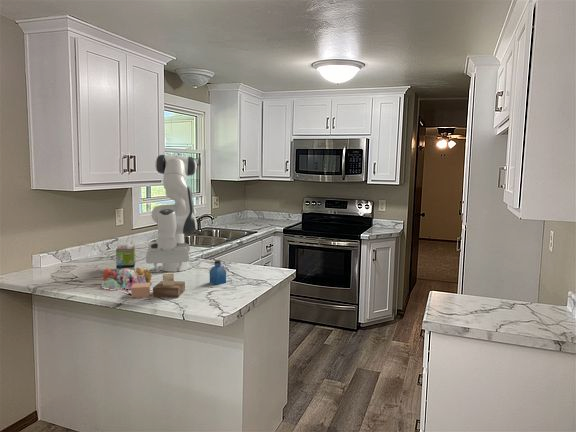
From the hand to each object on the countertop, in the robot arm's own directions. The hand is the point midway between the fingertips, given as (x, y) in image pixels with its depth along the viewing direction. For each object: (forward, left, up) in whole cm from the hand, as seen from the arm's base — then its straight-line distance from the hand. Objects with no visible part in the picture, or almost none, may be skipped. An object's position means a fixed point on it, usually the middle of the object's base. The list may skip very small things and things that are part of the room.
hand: (168, 271), depth 216 cm
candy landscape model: (-22, -21, -12) cm, 32 cm away
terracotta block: (-1, -13, -11) cm, 17 cm away
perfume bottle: (-15, +25, -11) cm, 31 cm away
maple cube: (0, 0, -6) cm, 6 cm away
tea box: (-53, -25, -11) cm, 59 cm away
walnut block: (0, 0, -11) cm, 11 cm away
